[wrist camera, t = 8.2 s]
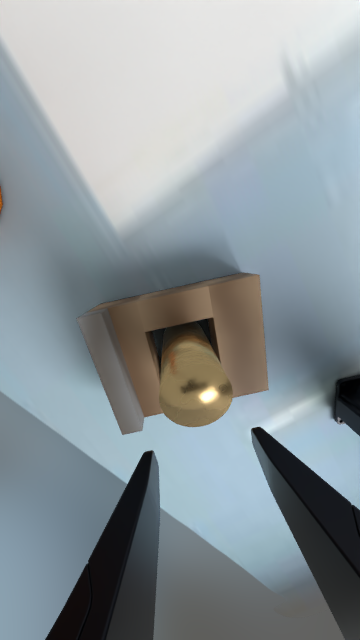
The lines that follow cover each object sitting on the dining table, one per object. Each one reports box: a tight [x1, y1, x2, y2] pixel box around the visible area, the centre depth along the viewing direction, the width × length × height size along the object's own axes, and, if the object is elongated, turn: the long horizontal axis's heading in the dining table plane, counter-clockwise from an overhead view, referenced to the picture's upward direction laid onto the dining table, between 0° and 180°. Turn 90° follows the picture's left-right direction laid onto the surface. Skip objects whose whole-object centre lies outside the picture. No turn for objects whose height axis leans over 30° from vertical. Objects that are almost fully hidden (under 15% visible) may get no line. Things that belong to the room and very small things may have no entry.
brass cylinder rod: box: [159, 321, 233, 427], centre depth 15 cm, size 4×4×9 cm
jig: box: [76, 273, 269, 435], centre depth 17 cm, size 14×11×5 cm
